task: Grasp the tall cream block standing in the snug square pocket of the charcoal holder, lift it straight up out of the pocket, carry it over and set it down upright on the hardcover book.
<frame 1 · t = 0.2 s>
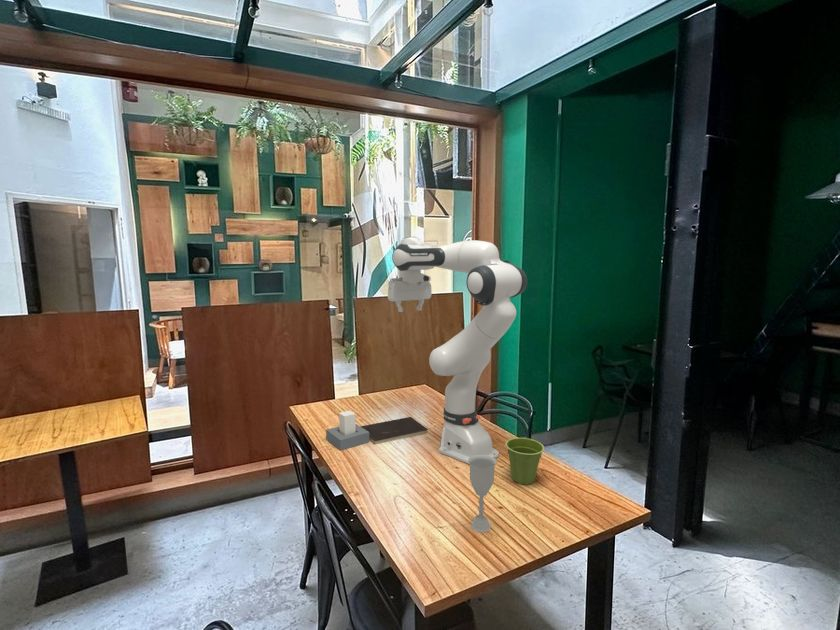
hand: (410, 311, 177), 48 cm above the table, fingers open, 8 cm apart
cream block: (347, 441, 164), resting in holder
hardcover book: (393, 433, 173), on the table
chalice: (480, 526, 112), on the table
plant pot: (523, 479, 136), on the table
holder: (347, 440, 164), on the table
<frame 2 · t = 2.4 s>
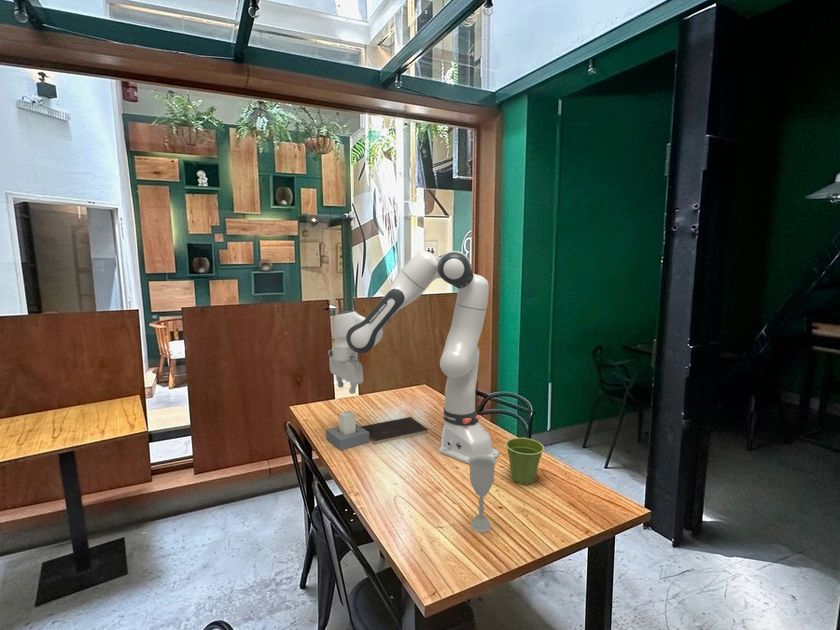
hand: (346, 390, 161), 20 cm above the table, fingers open, 8 cm apart
nothing on the table moved.
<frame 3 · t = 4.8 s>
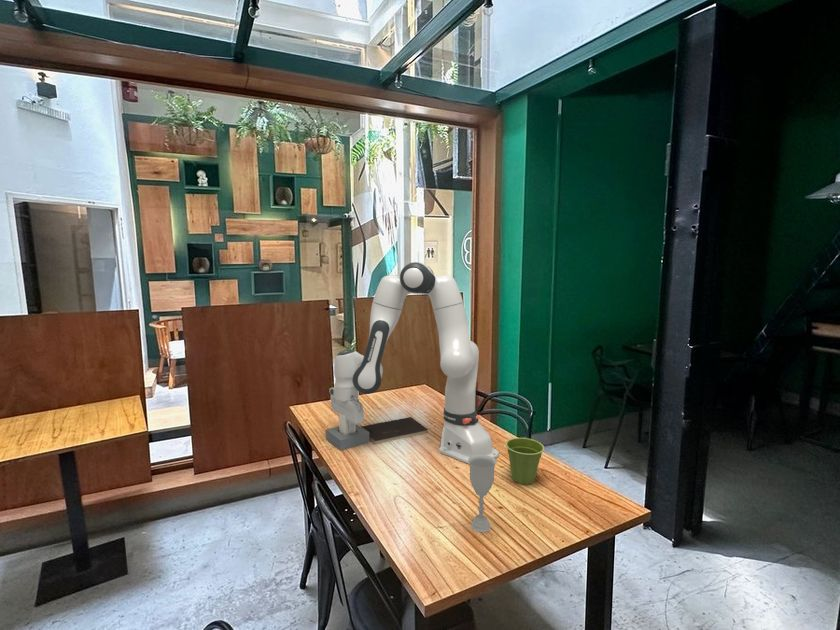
hand: (347, 428, 163), 5 cm above the table, fingers closed on cream block, 4 cm apart
cream block: (347, 441, 164), resting in holder, touching gripper
everything else where it was.
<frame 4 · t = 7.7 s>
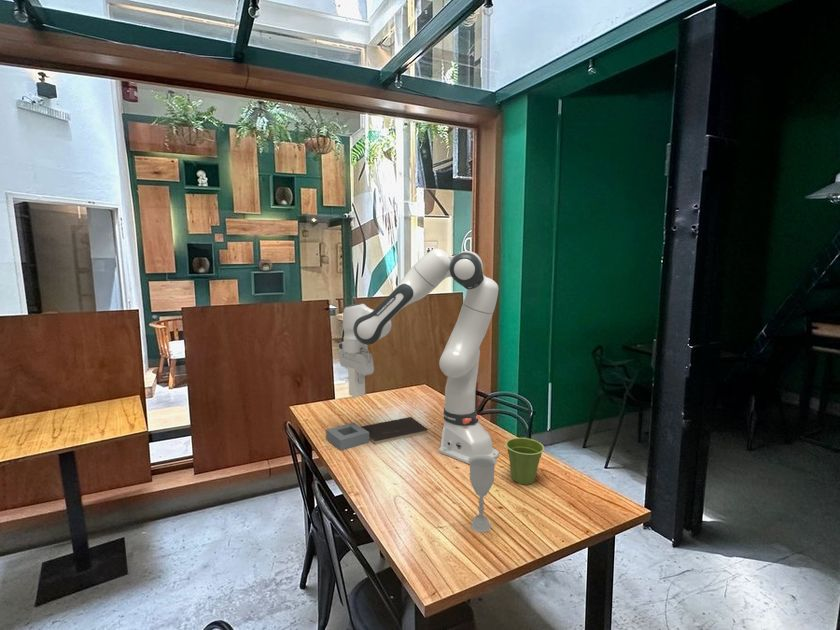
hand: (356, 381, 164), 22 cm above the table, fingers closed on cream block, 4 cm apart
cream block: (357, 394, 164), point 17 cm above the table, touching gripper
everything else where it was.
when the fingers open (8 cm above the table, at t = 10.6 s): cream block drops 2 cm, resting on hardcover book.
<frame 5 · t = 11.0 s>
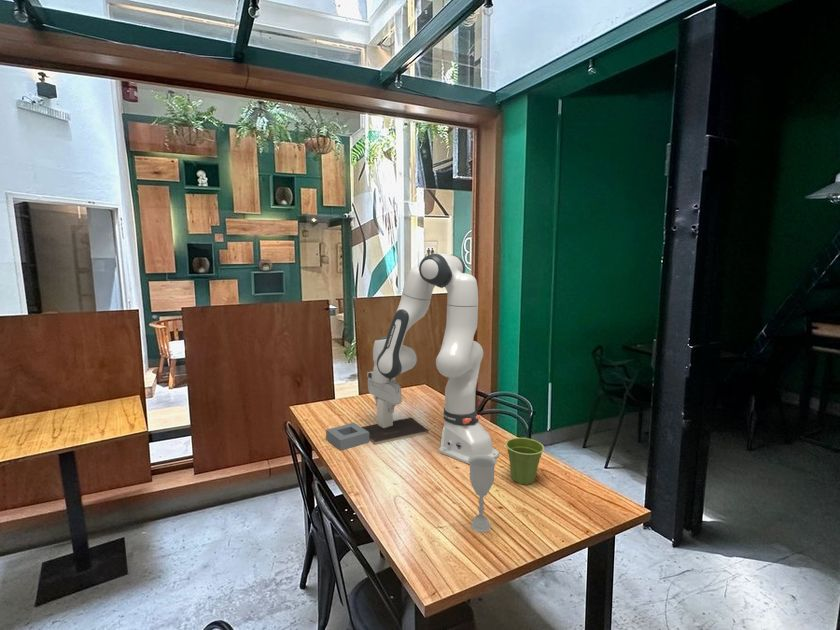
hand: (384, 409, 175), 8 cm above the table, fingers open, 8 cm apart
cream block: (385, 425, 176), point 1 cm above the table, touching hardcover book
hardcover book: (394, 434, 173), on the table, touching cream block
everything else where it was.
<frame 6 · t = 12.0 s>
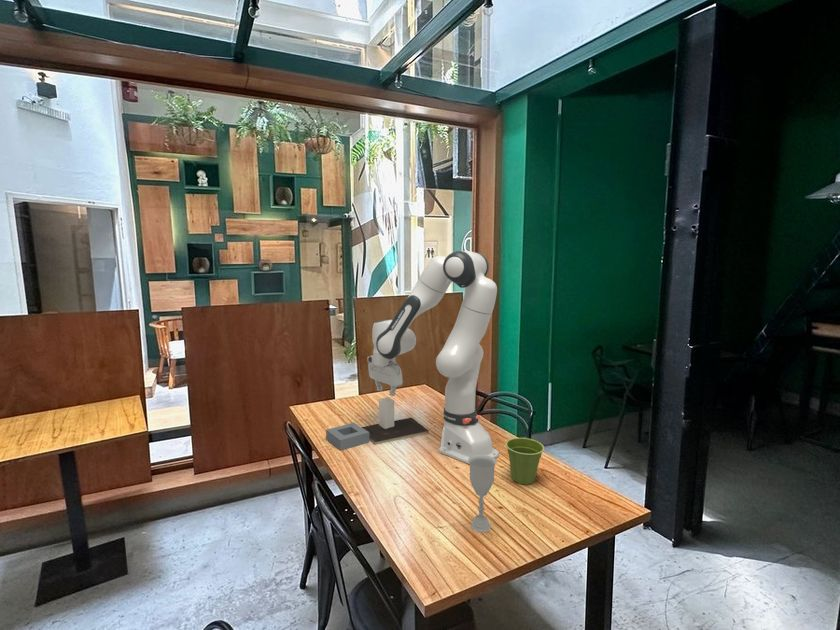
hand: (386, 393, 174), 15 cm above the table, fingers open, 8 cm apart
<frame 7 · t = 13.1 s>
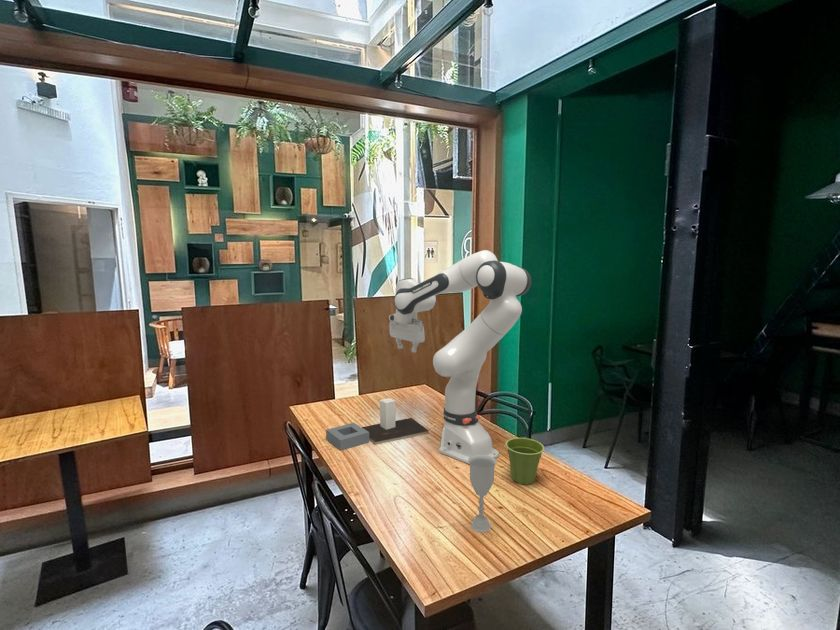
hand: (406, 350, 180), 31 cm above the table, fingers open, 8 cm apart
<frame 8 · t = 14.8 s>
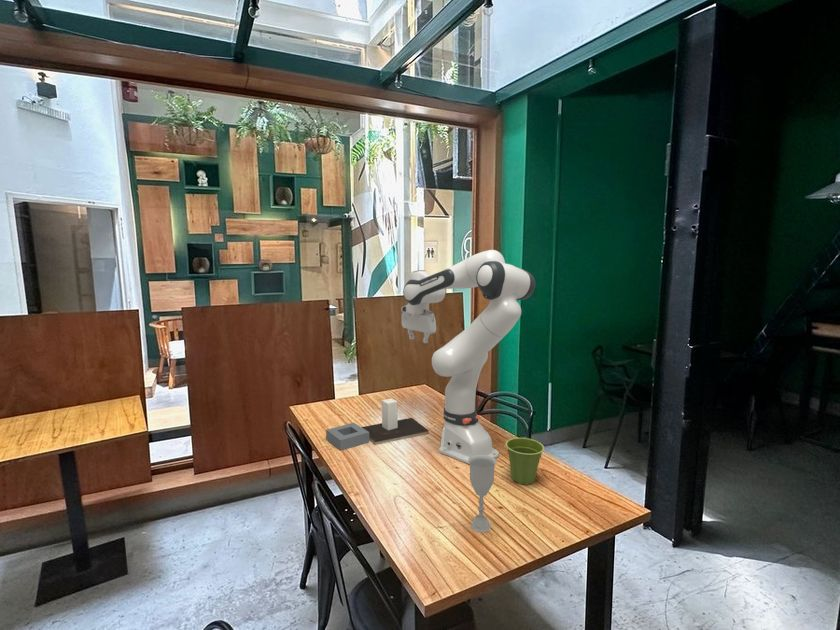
hand: (418, 341, 183), 34 cm above the table, fingers open, 8 cm apart
cream block: (389, 427, 173), point 1 cm above the table, touching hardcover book
everything else where it was.
at the end: cream block inside the target area on the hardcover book (2.2 cm from its centre), point 2.5 cm above the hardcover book's base; cream block tilted 1°; cream block touching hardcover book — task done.
